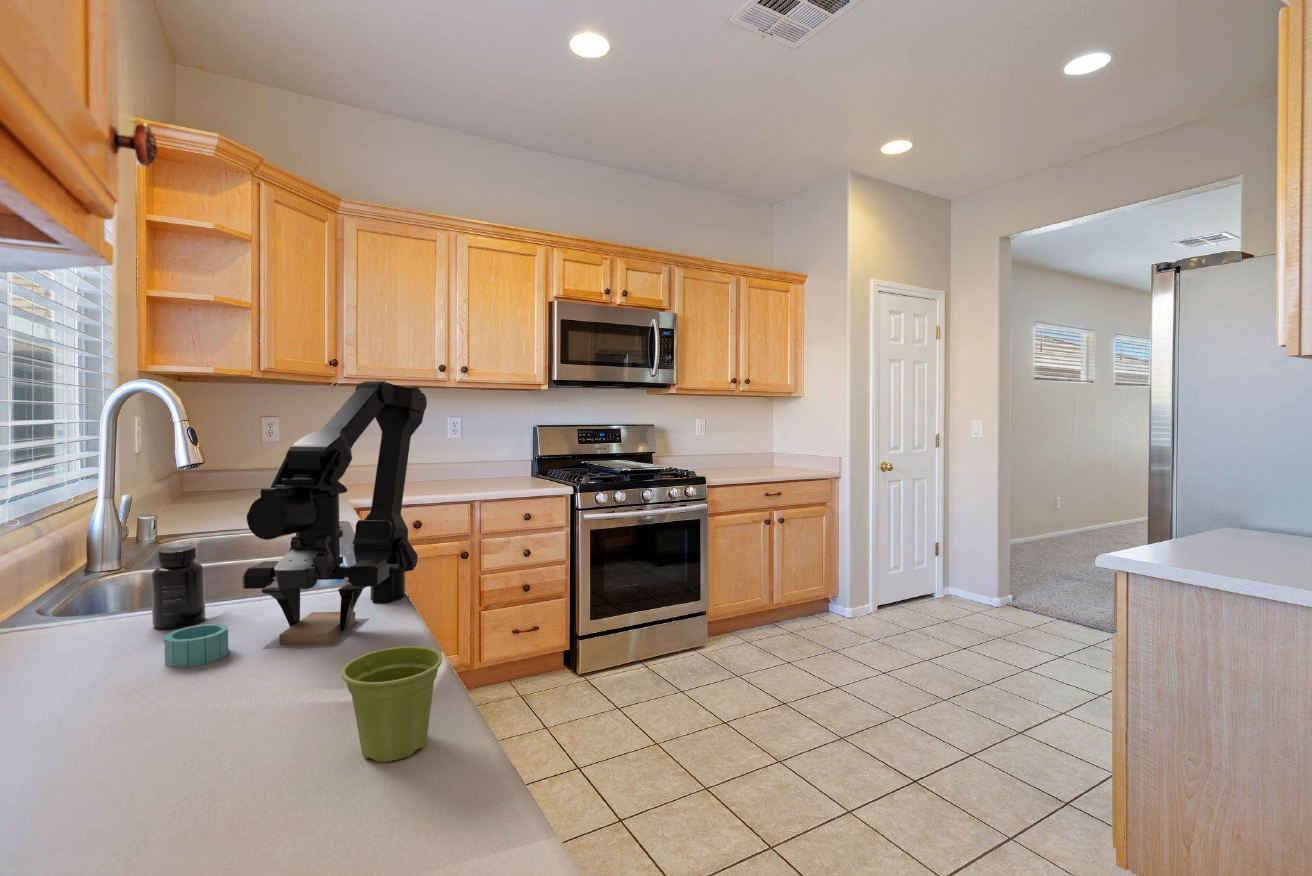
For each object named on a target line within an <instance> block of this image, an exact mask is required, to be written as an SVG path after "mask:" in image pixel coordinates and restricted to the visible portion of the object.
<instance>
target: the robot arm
mask: <svg viewBox="0 0 1312 876" xmlns="http://www.w3.org/2000/svg"><path fill="white" fill-rule="evenodd" d="M427 402H428V401H427V397H426V395H425V393H424V392H422V390H421V389H420V388H419V387H418V386H401V385H396V384H392V383H390V382H387V381H384V380H383V381H381V380H379V381H378V380H377V381H375V380H374V381H371V380H370V381H368V380H367V381H366V380H365V381H362V382H359V383H358V384H357V385H356V386H355V391H354V392H353V393H352V395H351V396H350V397H349V398H348V399H347V400H346V402H344V404H343V405H342V406H341V407H340V408H339V409H338V410H337V412H336V413H334V415H333V416H332V417H331V418H330V419H329V420H328V422H327V423H326V424H324V426H323V427H322V428H319V430H316V431H313V432H311V433H308V434H305V435H303V436H302V437H301V438H299V439H297V441H296V442H294V443H293V444H292V445H291V446H290V447H289V449H288V450H287V452H286V455H285V456H284V457H285V458H284V459H283V461H282V463H281V465H280V467H279V469H278V471H277V473H276V476H275V477H274V479H273V480H272V483H271V485H270V487H265V488H264V487H263V488H260V497H259V498H257V499H256V500H254V502H253V503H252V504H251V505H250V507H249V511H248V512H247V513H246V522H247V525H248V528H249V530H250V531H251V533H252V534H253V535H254V536H255V537H257V538H259V539H261V540H264V541H269V540H273V539H277V538H281V537H282V538H283V537H285V536H289V535H293V534H295V536H292V537H291V540H290V548H289V551H288V552H287V553H286V554H284V555H283V556H282V558H280V560H271V561H270V560H268V561H267V560H266V561H262V562H260V563H258V564H255V565H252V566H250V567H248V568H247V569H246V570H245V571H244V573H243V576H242V588H243V589H245V590H246V589H247V590H250V589H251V590H252V589H253V590H254V589H255V590H256V589H258V590H259V589H261V590H260V591H261V593H262V594H264V595H265V594H266V595H269V596H271V597H272V598H273V599H274V600H276V602H277V603H278V605H279V606H280V608H281V610H282V612H283V614H284V616H285V619H286V621H287V622H288V623H287V624H288V626H289V628H290V627H291V626H293V625H294V624H296V623H297V622H299V621H300V620H301V590H309V589H311V588H314V587H315V586H316V584H317V582H318V580H319V581H321V580H328V581H329V580H344V585H343V586H341V587H340V588H338V591H337V592H338V593H339V596H340V611H339V612H340V629H341V631H344V630H345V629H346V627H347V625H348V622H349V620H350V617H351V615H352V612H353V611H354V609H355V606H356V604H357V602H358V600H359V598H360V595H361V594H362V592H363V590H364V589H366V588H368V587H369V588H370V601H371V602H372V604H373V605H375V604H377V605H379V604H390V603H393V602H395V601H398V600H402V599H404V598H405V597H406V572H409V571H414V570H415V568H416V567H417V565H418V564H417V563H418V557H419V555H418V554H417V552H416V551H415V549H414V547H413V546H412V545H411V543H410V542H409V528H408V526H407V524H406V522H405V520H404V518H403V516H402V507H403V499H404V493H405V483H406V476H407V469H408V461H409V452H410V446H411V440H412V439H411V438H412V436H413V434H414V433H415V432H416V431H417V429H418V428H419V427H420V426H421V424H422V423H423V419H424V415H425V411H426V409H427V405H428V403H427ZM374 419H375V420H376V422H377V425H378V427H379V428H380V431H381V437H380V445H379V452H378V458H377V465H376V473H375V480H374V487H373V493H372V494H373V495H372V501H371V507H370V512H369V513H368V514H367V515H366V517H364V519H358V521H357V522H356V524H355V530H354V531H355V533H354V537H353V541H352V545H353V546H352V550H353V551H352V552H353V555H354V559H355V563H354V564H352V565H345V566H343V565H342V564H343V563H344V556H341V550H340V548H341V547H340V545H341V544H340V542H341V541H340V538H342V537H344V535H343V534H344V533H343V529H340V494H346V493H347V492H348V488H347V487H346V486H345V485H344V484H343V483H341V482H340V481H339V480H340V479H341V478H342V477H343V476H344V475H345V473H346V471H347V469H348V468H349V466H350V464H351V462H352V460H353V455H352V448H353V446H354V444H355V443H356V442H357V440H359V438H360V437H361V435H362V434H363V433H364V431H365V430H367V428H368V427H369V425H370V424H371V423H372V421H374ZM341 565H342V566H341Z"/></svg>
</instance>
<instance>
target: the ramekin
mask: <svg viewBox="0 0 1312 876" xmlns="http://www.w3.org/2000/svg"><path fill="white" fill-rule="evenodd" d="M163 644H164V665H165V666H167V667H171V668H188V667H189V668H190V667H195V666H199V665H204V664H205V665H206V664H209V663H212V662H215V661H217V660H220V659H222V658H224V657H226V656H227V655H229V625H227V624H223V623H204V624H197V625H196V624H195V625H189V626H185V627H181V628H178V629H175V630H172V631H171V632H168V633H167V634H165V636H164V643H163Z"/></svg>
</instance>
